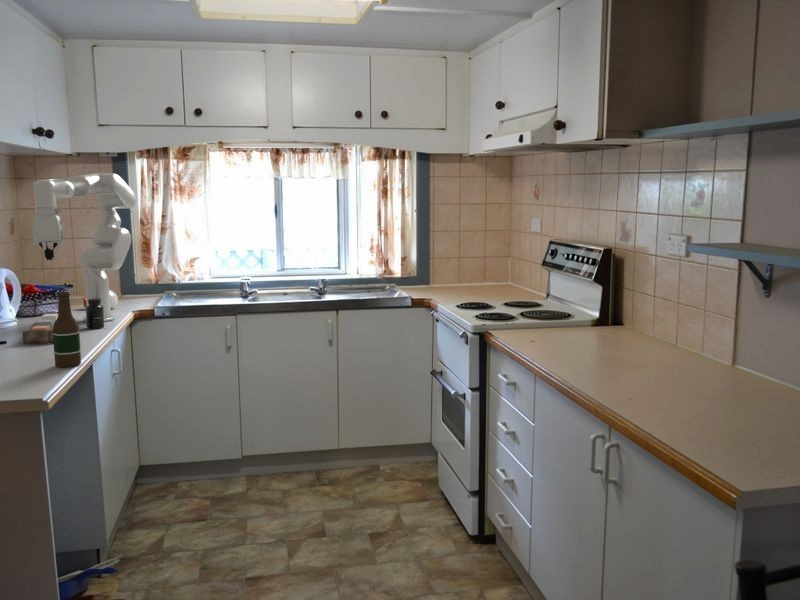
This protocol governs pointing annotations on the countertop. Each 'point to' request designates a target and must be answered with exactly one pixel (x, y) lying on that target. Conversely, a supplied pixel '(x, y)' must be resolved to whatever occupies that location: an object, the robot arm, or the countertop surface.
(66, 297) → the beer bottle
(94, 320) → the supplement bottle
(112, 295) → the potion bottle
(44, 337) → the key console
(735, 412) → the countertop surface
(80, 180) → the robot arm
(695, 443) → the countertop surface
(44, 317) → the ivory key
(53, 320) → the slate key
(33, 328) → the terracotta key
